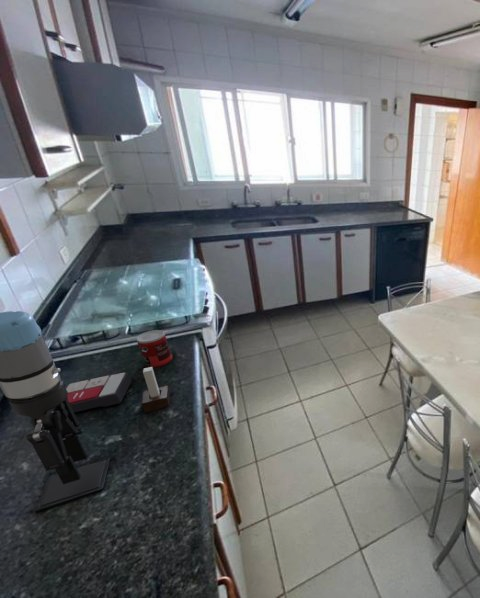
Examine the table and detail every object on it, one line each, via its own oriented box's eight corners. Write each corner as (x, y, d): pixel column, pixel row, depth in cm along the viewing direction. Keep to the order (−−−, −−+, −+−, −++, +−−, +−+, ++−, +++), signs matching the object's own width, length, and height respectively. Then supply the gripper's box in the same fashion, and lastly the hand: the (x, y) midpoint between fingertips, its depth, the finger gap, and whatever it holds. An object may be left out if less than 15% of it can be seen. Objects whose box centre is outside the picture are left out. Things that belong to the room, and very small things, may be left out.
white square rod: (153, 407, 98) (142, 372, 92) (154, 403, 99) (143, 368, 94) (162, 405, 99) (151, 370, 93) (162, 401, 100) (152, 366, 95)
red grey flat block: (67, 382, 99) (126, 369, 104) (74, 393, 101) (132, 380, 106) (49, 407, 90) (114, 392, 95) (56, 418, 92) (120, 403, 97)
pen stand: (144, 414, 95) (141, 403, 93) (147, 401, 100) (143, 390, 98) (169, 407, 98) (166, 397, 96) (170, 395, 103) (167, 385, 101)
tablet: (35, 513, 69) (34, 510, 69) (50, 478, 76) (48, 475, 76) (103, 491, 74) (102, 488, 74) (111, 460, 81) (109, 457, 81)
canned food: (148, 358, 118) (138, 332, 113) (174, 353, 122) (165, 327, 117) (144, 370, 112) (133, 344, 107) (172, 364, 116) (162, 338, 111)
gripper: (45, 412, 59) (87, 497, 68) (74, 358, 73) (105, 434, 83) (-16, 426, 55) (37, 513, 65) (26, 366, 69) (65, 445, 79)
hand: (75, 469), depth 74 cm, fingers open, 5 cm apart
